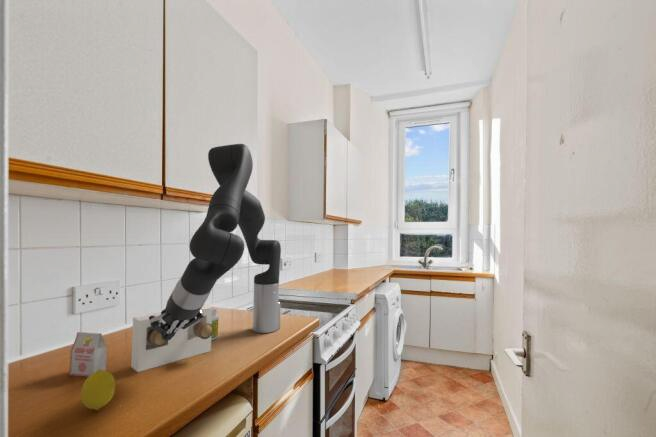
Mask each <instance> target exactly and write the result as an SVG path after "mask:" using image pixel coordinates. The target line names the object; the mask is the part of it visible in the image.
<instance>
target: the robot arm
mask: <svg viewBox="0 0 656 437" xmlns="http://www.w3.org/2000/svg"><path fill="white" fill-rule="evenodd" d="M207 154H208V155H207V157H208V158H207V160H208V163H209V164H208V165H209V167H210V170H211V173H212V174H213V176H214V178H215V180H216V182H217V183H218V185H219V187H217V189H216V190H215V191H214V193H213V194H212V196H211V197H210V200H209V203H208V207H207V212H206V216H205V218H204V220H203V222H202V223H201V224H200V226H199V227H198V228H197V229H196V231H195V232H194V234H193V235H192V237H191V238H190V240H189V251H190V253H191V255H192V256H193V257H194V258H193V259H192V260H190V261H189V263H188V264H187V266H186V268H185V270H184V271H183V273H182V276H181V277H180V278H179V280H178V281H177V282H176V284H175V286H174V288H173V290H172V292H171V294H170V296H169V297H168V300H167V302H166V305H165V308H164V309H162V310H161V315H159V316H157V317H155V316H154V315H153V316H150V317H149V320H150V324H151V327H152V328H153V329H154V330H156V331H157V332H158V333H160V334H161V336H162V339H164V341H167V340H171V338H172V337H173V336H174V335H175V334H176V332H178V331H179V330H180V329H181V328H182V329H186V328H187V327H189V326H190V325H192V324H193V323H195V322H196V321H198V320H199V319H201V318H202V317H203V316H204V315H203V313H202V310H201V308H202V306H203V305H205V303H206V302H207V300H208V298H209V296H210V294H211V291H212V289H213V287H214V286H215V285H216V283H217V281H218V280H219V279H220V278H221V277H223V276H224V275H225V274H226V273H227V272H228V271H230V270H231V269H233V267H235V266H236V265H237V264H238V263H239V261H240V260H241V258H242V257H243V254H244V251H245V245H246V248H247V250H248V254H249V257H250V260H251V261H252V262H253V264H256V265H268V269H267V270H265V271H263V272H260V273H257V274H256V275H255V274H254V277H253V306H252V308H253V311H252V312H253V313H252V331H253V332H255V333H261V334H266V333H267V334H268V333H274V332H276V331H278V329H280V328H281V306H282V305H281V302H280V301H279V300H280V299H279V298H280V273H281V270H280V268H281V266H280V264H281V255H282V254H281V253H282V248H281V242H280V241H279V240H277V239H260V238H259V237H258V236H259V233H260V232H261V230H262V229H263V227H264V224H265V222H266V216H265V212H264V209H263V206H262V203H261V201H260V200H259V199H258V198H257V196H255V195H254V194H252V193H251V192H249V191H248V190H246V189H247V186H248V184H249V181H250V178H251V176H252V171H253V165H254V164H253V157H252V154H251V150H250V149H249V147H248V146H247V145H246V144H243V143H234V144H225V145H220V146H215V147H212V148H210V149H209V150H208V153H207ZM237 227H239V229H240V232H241V233H242V236H243V238H244V240H243V239H242V237H241V236H240V235H237V234H235V233H232V232H234V231H235V230H236V229H237ZM162 320H164V321H165V324H163V322H162ZM187 321H189V322H188V323H186V322H187Z"/></svg>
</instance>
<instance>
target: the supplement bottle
mask: <svg viewBox="0 0 656 437" xmlns="http://www.w3.org/2000/svg"><path fill="white" fill-rule="evenodd" d="M212 326H213V328H214V330H213V333H212V335H211V341H215V340H216V339H217V338H218V337H219V316H218V315H217V308H215V307H212Z"/></svg>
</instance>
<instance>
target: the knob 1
mask: <svg viewBox="0 0 656 437" xmlns="http://www.w3.org/2000/svg"><path fill="white" fill-rule="evenodd" d="M148 341H149V343H151V344H152V345H154V346H156V347H161V346H164V345H165V344H166V343H167V342H168V340H167V341H164V339H162V336H161V334H160V333H158V332H157V331H156V330H154V329H152V330H150V331H149V333H148Z"/></svg>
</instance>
